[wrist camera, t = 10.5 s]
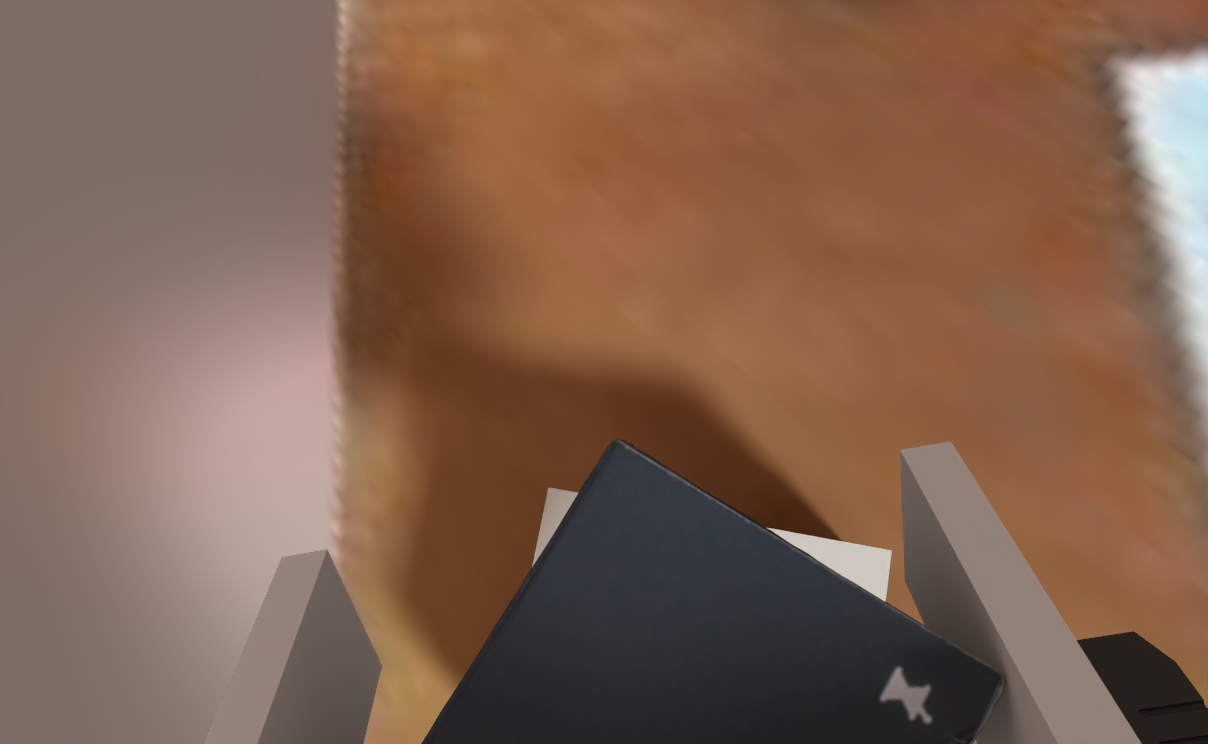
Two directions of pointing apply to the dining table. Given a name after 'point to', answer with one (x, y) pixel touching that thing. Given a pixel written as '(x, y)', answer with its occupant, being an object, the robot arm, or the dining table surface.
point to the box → (703, 637)
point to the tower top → (842, 557)
